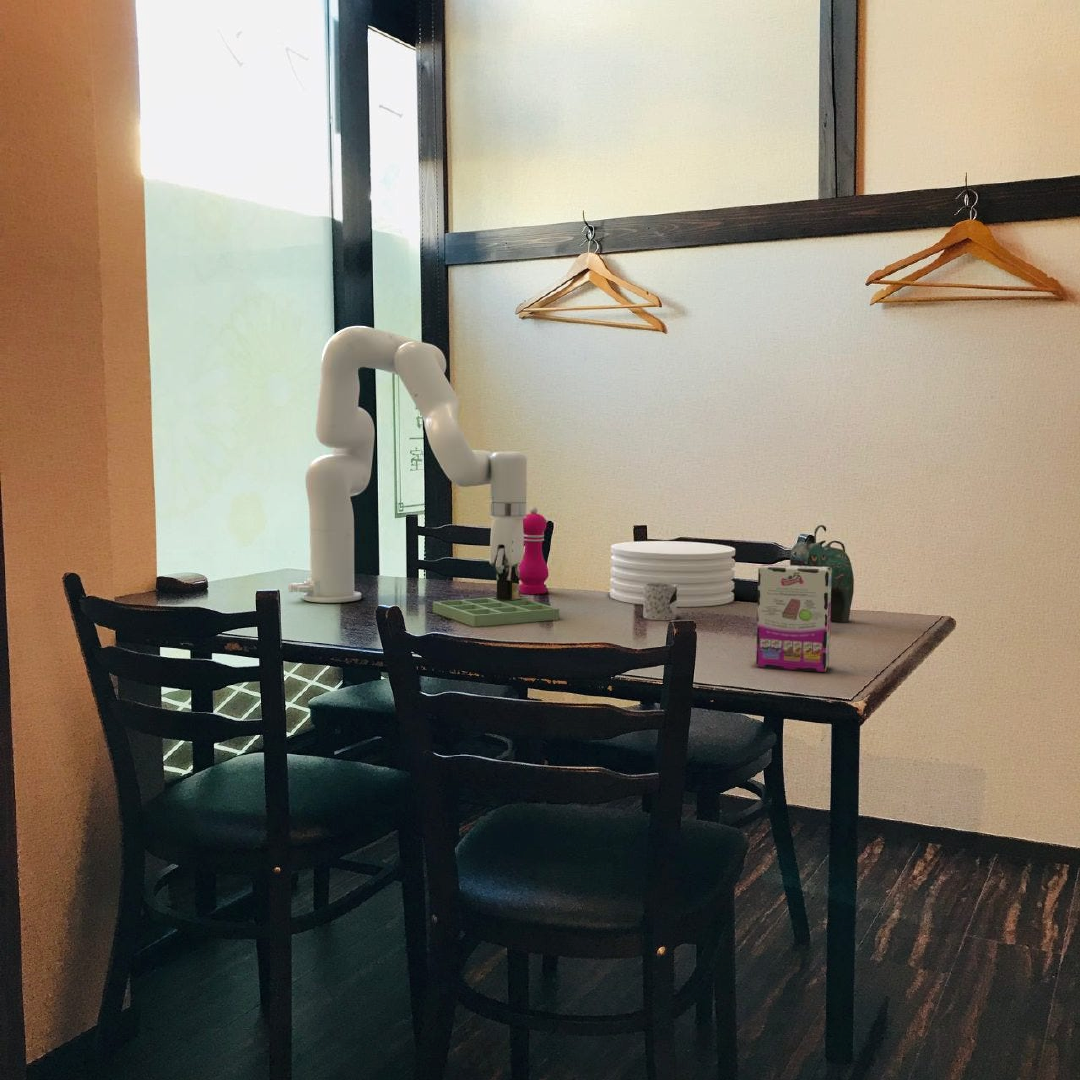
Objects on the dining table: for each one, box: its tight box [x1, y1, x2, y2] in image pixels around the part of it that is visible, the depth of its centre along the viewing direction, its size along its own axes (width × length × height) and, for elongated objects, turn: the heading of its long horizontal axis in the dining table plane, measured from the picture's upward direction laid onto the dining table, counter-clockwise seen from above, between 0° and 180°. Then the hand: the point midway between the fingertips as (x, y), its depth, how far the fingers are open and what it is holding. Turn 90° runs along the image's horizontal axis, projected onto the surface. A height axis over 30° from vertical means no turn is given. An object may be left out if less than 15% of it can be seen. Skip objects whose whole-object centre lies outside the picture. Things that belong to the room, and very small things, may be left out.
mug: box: [642, 583, 677, 621], centre depth 227 cm, size 10×7×7 cm, turn 177°
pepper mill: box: [519, 506, 549, 595], centre depth 258 cm, size 7×7×20 cm
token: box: [511, 583, 520, 600], centre depth 234 cm, size 4×4×3 cm
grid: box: [432, 596, 560, 628], centre depth 226 cm, size 19×19×2 cm
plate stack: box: [609, 540, 736, 608], centre depth 253 cm, size 28×28×12 cm
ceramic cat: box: [789, 524, 855, 623], centre depth 218 cm, size 20×6×20 cm, turn 137°
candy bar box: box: [755, 564, 832, 673], centre depth 179 cm, size 11×5×16 cm, turn 69°
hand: (508, 596), depth 234 cm, fingers closed on token, 4 cm apart
